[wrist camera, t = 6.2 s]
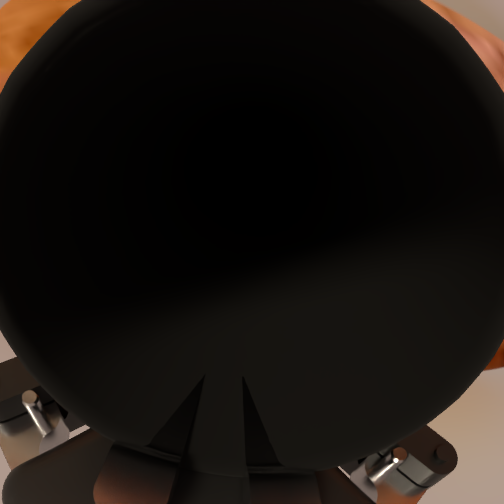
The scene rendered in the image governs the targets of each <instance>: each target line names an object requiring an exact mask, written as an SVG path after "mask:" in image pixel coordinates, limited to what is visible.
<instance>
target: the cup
mask: <svg viewBox="0 0 504 504" xmlns="http://www.w3.org/2000/svg"><path fill="white" fill-rule="evenodd" d="M0 330H1V332H2V334H3V336H4V337H5V339H6V340H7V342H8V344H9V345H10V347H11V348H12V350H13V351H14V353H15V354H16V356H17V357H18V359H19V360H20V362H21V363H22V365H23V366H24V367H25V369H26V370H27V371H28V372H29V374H30V375H31V376H32V377H33V378H34V379H35V380H36V381H37V382H38V383H39V384H40V385H41V387H42V388H43V389H44V390H45V391H46V392H47V393H48V394H49V395H50V396H51V397H52V398H53V399H54V400H55V401H56V402H57V403H58V404H59V405H60V406H62V407H63V408H64V409H65V410H67V411H68V412H69V413H71V414H72V415H73V416H75V417H76V418H77V419H79V420H80V421H81V422H83V423H84V424H86V425H87V426H89V427H90V428H91V429H93V430H94V431H96V432H97V433H99V434H100V435H102V436H104V437H106V438H107V439H109V440H111V441H113V442H115V441H116V440H118V441H122V442H126V443H131V444H138V445H148V444H149V443H150V442H151V440H152V439H153V437H154V436H155V435H156V434H157V433H158V432H159V430H160V429H161V428H162V427H164V426H165V423H166V422H167V421H168V419H169V418H170V417H171V416H172V415H173V413H174V412H175V411H176V410H177V409H178V407H179V406H180V405H181V404H182V402H183V401H184V400H185V399H186V397H187V396H188V395H189V394H190V393H191V391H192V390H193V389H194V388H195V386H196V385H197V384H198V383H199V381H200V380H201V379H202V378H203V376H204V375H205V378H204V381H203V385H202V388H201V392H200V395H199V399H198V403H197V406H196V410H195V413H194V417H193V421H192V424H191V428H190V431H189V435H188V439H187V442H186V446H185V450H184V453H183V457H182V462H181V468H183V469H186V470H190V471H196V472H202V473H208V474H215V475H222V476H230V477H242V476H243V474H244V439H243V400H242V377H244V379H245V381H246V384H247V386H248V389H249V391H250V394H251V396H252V399H253V401H254V404H255V406H256V409H257V411H258V413H259V416H260V418H261V421H262V423H263V425H264V428H265V430H266V433H267V435H268V437H269V442H270V443H271V444H272V447H273V449H274V451H275V454H276V456H277V458H278V460H279V462H280V463H281V464H283V465H284V466H288V467H295V468H305V469H313V471H314V472H317V471H322V470H327V469H331V468H335V467H338V466H341V465H344V464H347V463H350V462H353V461H356V460H359V459H362V458H365V457H368V456H370V455H373V454H376V453H378V452H380V451H382V450H384V449H386V448H388V447H390V446H391V445H393V444H395V443H397V442H399V441H401V440H403V439H404V438H406V437H408V436H410V435H411V434H413V433H415V432H417V431H418V430H420V429H421V428H423V427H424V426H425V425H427V424H428V423H429V422H430V421H432V420H433V419H434V418H436V417H437V416H438V415H439V414H441V413H442V412H443V411H444V410H446V409H447V408H448V407H449V406H450V405H452V404H453V403H454V402H455V401H456V400H457V399H459V398H460V396H461V395H462V394H463V393H464V392H465V391H466V390H467V388H469V386H470V385H471V384H472V383H473V382H474V380H475V379H476V378H477V377H478V376H479V375H480V373H481V372H482V371H483V370H484V369H485V367H486V366H487V365H488V364H489V362H490V361H491V360H492V358H493V357H494V355H495V354H496V352H497V350H498V348H499V347H500V345H501V343H502V341H503V339H504V92H503V91H502V89H501V88H500V86H499V85H498V83H497V82H496V80H495V79H494V77H493V76H492V74H491V73H490V71H489V70H488V68H487V67H486V66H485V64H484V63H483V62H482V60H481V59H480V58H479V56H478V55H477V54H476V52H475V51H474V50H473V48H472V47H471V46H470V45H469V43H468V42H467V41H466V40H465V39H464V37H463V36H462V35H461V34H460V33H459V31H458V30H457V29H456V28H455V27H454V26H453V25H452V24H450V23H449V22H448V21H447V20H446V19H444V18H443V17H442V16H440V15H439V14H438V13H436V12H435V11H434V10H432V9H431V8H430V7H428V6H427V5H426V4H424V3H423V2H421V1H420V0H81V1H80V2H78V3H77V4H75V5H74V6H72V7H71V8H69V9H68V10H67V11H66V12H65V13H64V14H63V15H62V16H61V17H60V18H59V19H58V20H57V21H56V22H55V23H54V24H53V25H52V26H51V27H50V28H49V29H48V30H47V31H46V33H45V34H44V35H43V36H42V37H41V38H40V39H39V40H38V41H37V42H36V44H35V45H34V46H33V47H32V48H31V49H30V51H29V52H28V53H27V54H26V55H25V57H24V58H23V59H22V60H21V62H20V63H19V64H18V65H17V67H16V68H15V69H14V70H13V72H12V73H11V75H10V76H9V78H8V80H7V82H6V84H5V86H4V88H3V90H2V92H1V94H0Z"/></svg>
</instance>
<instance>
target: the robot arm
mask: <svg viewBox="0 0 504 504" xmlns="http://www.w3.org/2000/svg"><path fill="white" fill-rule="evenodd" d="M204 378H205V375H204V376H203V378H202V379H201V380H200V381H199V383H198V384H197V385H196V386H195V388H194V389H193V390H192V391H191V393H190V394H189V395H188V396H187V397H186V399H185V400H184V401H183V402H182V404H181V405H180V406H179V407H178V409H177V410H176V411H175V412H174V413H173V415H172V416H171V417H170V418H169V419H168V421H167V422H166V423H165V426H164V427H162V428H161V429H160V430H159V432H158V433H157V434H156V435H155V436H154V437H153V439H152V440H151V442H150V443H149V444H148V445H138V444H131V443H126V442H122V441H118V440H116V441H115V442H113V441H111V440H109V439H107V438H106V437H104V436H102V435H100V434H99V433H97V432H96V431H94V430H93V429H91V428H90V429H88V430H86V431H84V432H82V433H80V434H79V435H77V436H75V437H73V438H71V439H69V432H71V431H73V430H75V429H77V428H79V427H82V426H84V425H86V424H84V423H83V422H81V421H80V420H79V419H77V418H76V417H75V416H73V415H72V414H71V413H69V412H68V411H67V410H65V409H64V408H63V407H62V406H60V405H59V404H58V403H57V402H56V401H55V400H54V399H53V398H52V397H51V396H50V395H49V394H48V393H47V392H46V391H45V390H44V389H43V388H42V387H41V385H40V384H39V383H38V382H37V381H36V380H35V379H34V378H33V377H32V376H31V375H30V374H29V372H28V371H27V370H26V369H25V367H24V366H23V365H22V363H21V362H20V360H19V359H18V357H15V358H13V359H10V360H7V361H5V362H2V363H0V447H1V449H2V451H3V453H4V456H5V458H6V460H7V462H8V464H9V467H10V469H11V472H10V473H9V475H8V476H7V479H6V480H5V482H4V485H3V490H2V501H3V504H417V503H418V501H419V500H420V499H421V497H422V496H423V495H424V493H425V492H426V490H427V489H429V488H430V487H432V486H433V485H434V484H436V483H437V482H439V481H440V480H441V479H442V478H444V477H445V476H447V475H448V474H449V473H450V472H452V471H453V470H454V468H455V467H456V465H457V461H458V457H457V453H456V451H455V449H454V447H453V446H452V445H451V444H450V443H449V442H448V441H446V440H445V439H444V438H443V437H441V436H440V435H439V434H437V433H436V432H435V431H433V430H432V429H431V428H430V427H428V426H427V425H425V426H424V427H423V428H421V429H420V430H418V431H417V432H415V433H413V434H411V435H410V436H408V437H406V438H404V439H403V440H401V441H399V442H397V443H395V444H393V445H391V446H390V447H388V448H386V449H384V450H382V451H380V452H378V453H376V454H373V455H370V456H368V457H365V458H362V459H359V460H356V461H353V462H350V463H347V464H344V465H341V466H340V467H341V468H342V469H343V470H344V471H346V472H347V473H348V474H349V475H350V479H349V478H348V477H347V476H346V475H345V474H344V473H343V472H342V471H341V470H340V469H339V468H338V467H335V468H331V469H327V470H322V471H317V472H314V471H313V469H305V468H295V467H288V466H284V465H283V464H281V463H280V462H279V460H278V458H277V456H276V454H275V451H274V449H273V447H272V444H271V443H270V442H269V437H268V435H267V433H266V430H265V428H264V425H263V423H262V421H261V418H260V416H259V413H258V411H257V409H256V406H255V404H254V401H253V399H252V396H251V394H250V391H249V389H248V386H247V384H246V381H245V379H244V377H242V400H243V439H244V474H243V476H242V477H230V476H222V475H215V474H208V473H202V472H196V471H190V470H186V469H183V468H181V462H182V457H183V453H184V450H185V446H186V442H187V439H188V435H189V431H190V428H191V424H192V421H193V417H194V413H195V410H196V406H197V403H198V399H199V395H200V392H201V388H202V385H203V381H204ZM68 439H69V440H68Z"/></svg>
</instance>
